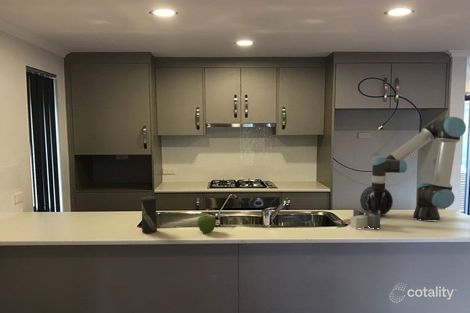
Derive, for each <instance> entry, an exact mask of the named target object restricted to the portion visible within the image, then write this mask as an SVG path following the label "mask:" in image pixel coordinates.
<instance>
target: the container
mask: <svg viewBox="0 0 470 313" xmlns="http://www.w3.org/2000/svg"><path fill="white" fill-rule="evenodd" d="M157 200H158V199H157V196H150V195H149V196H143V197H141V198H140V202H141V232H142V233H143V234H153V233H156V232H157V231H158V222H157Z"/></svg>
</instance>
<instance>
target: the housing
mask: <svg viewBox="0 0 470 313" xmlns="http://www.w3.org/2000/svg"><path fill="white" fill-rule="evenodd" d="M352 213H353V216H359V215H365V214H369V227H370V228H374V229H377V228H380V229H381V216H380V214H378V213H374V212H370V211H366V210H364V209H363V208H353V212H352ZM353 216H352V217H353ZM370 228H369V229H370Z"/></svg>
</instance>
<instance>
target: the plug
mask: <svg viewBox="0 0 470 313" xmlns="http://www.w3.org/2000/svg"><path fill="white" fill-rule="evenodd" d="M350 219H351V224H349V225H350V227H352V228H351V229H353V228H355V229H354V230H356V229H357V230H359V229H358V228H362V229H364V228H363V227H367V228H368V226H369V214H365V213H364V215H359V216H350Z"/></svg>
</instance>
